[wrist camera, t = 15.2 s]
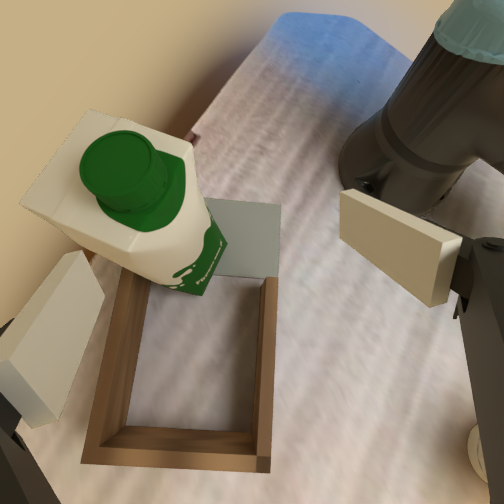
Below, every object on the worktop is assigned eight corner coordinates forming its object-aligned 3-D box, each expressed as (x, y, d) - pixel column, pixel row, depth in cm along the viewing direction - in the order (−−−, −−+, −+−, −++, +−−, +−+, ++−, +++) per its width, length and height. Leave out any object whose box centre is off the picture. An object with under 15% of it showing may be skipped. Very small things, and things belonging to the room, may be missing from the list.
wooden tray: (270, 287, 34) (278, 277, 28) (262, 446, 29) (270, 473, 23) (141, 277, 33) (122, 264, 28) (111, 438, 28) (80, 463, 23)
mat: (280, 206, 37) (281, 204, 37) (277, 280, 34) (277, 279, 34) (182, 197, 37) (181, 195, 36) (170, 271, 34) (169, 270, 33)
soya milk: (205, 306, 32) (108, 255, 13) (138, 276, 33) (-37, 189, 14) (238, 239, 34) (196, 110, 15) (173, 213, 36) (62, 67, 17)
